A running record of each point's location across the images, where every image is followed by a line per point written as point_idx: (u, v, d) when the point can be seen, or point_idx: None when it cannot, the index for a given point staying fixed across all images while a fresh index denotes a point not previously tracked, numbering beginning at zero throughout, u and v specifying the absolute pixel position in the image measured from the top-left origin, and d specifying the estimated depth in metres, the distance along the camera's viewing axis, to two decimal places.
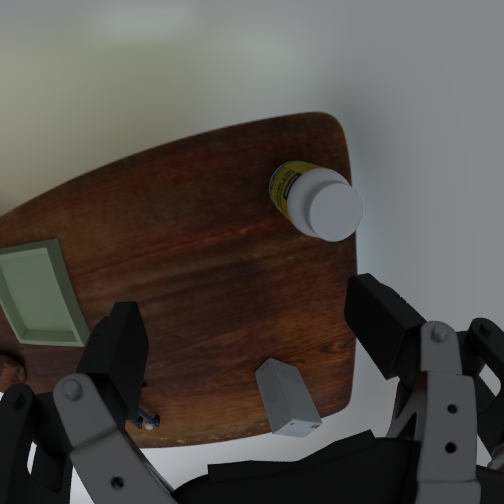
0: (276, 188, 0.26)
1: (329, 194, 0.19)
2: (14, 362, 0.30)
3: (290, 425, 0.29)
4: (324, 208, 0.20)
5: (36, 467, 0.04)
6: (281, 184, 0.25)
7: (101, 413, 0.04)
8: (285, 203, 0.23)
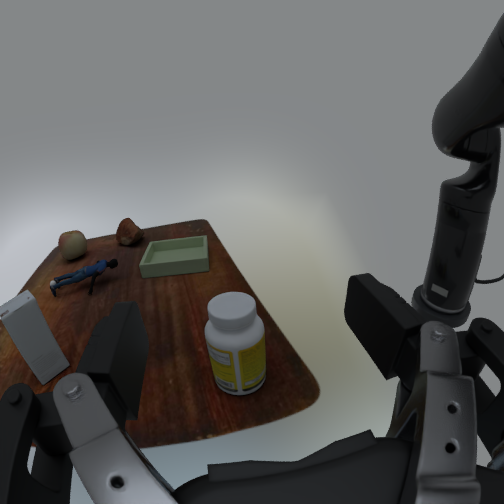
0: None
1: (245, 298, 0.27)
2: (136, 238, 0.71)
3: (28, 297, 0.25)
4: (234, 297, 0.27)
5: (36, 467, 0.04)
6: None
7: (101, 413, 0.04)
8: None
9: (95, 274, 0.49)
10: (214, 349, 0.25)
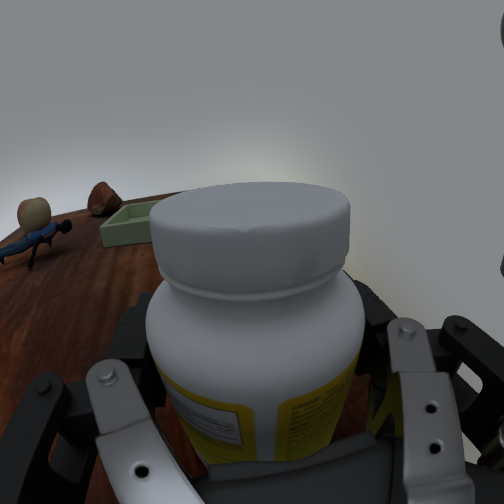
0: None
1: (298, 187, 0.07)
2: (110, 205, 0.51)
3: None
4: (258, 188, 0.07)
5: (56, 456, 0.04)
6: None
7: (140, 396, 0.05)
8: None
9: (38, 239, 0.29)
10: (174, 387, 0.06)
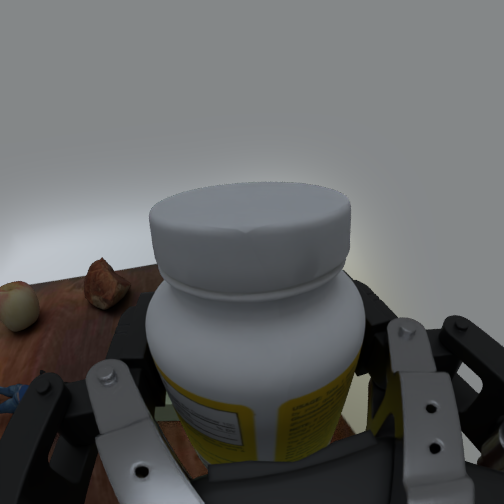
0: None
1: (299, 187, 0.07)
2: (115, 301, 0.38)
3: None
4: (258, 188, 0.07)
5: (56, 456, 0.04)
6: None
7: (140, 396, 0.05)
8: None
9: None
10: (174, 387, 0.06)
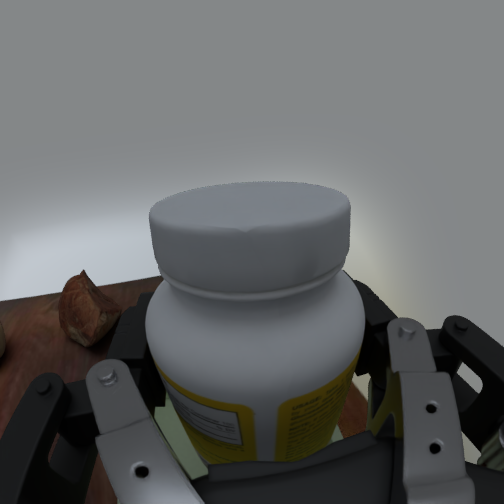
0: None
1: (298, 187, 0.07)
2: (99, 337, 0.24)
3: None
4: (258, 187, 0.07)
5: (56, 456, 0.04)
6: None
7: (141, 396, 0.05)
8: None
9: None
10: (173, 387, 0.06)
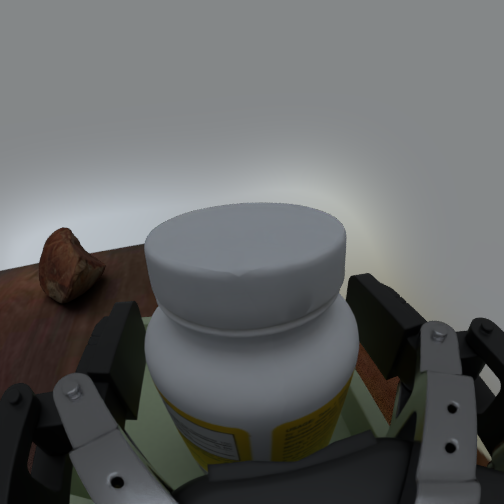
0: None
1: (295, 211, 0.07)
2: (77, 289, 0.22)
3: None
4: (254, 211, 0.07)
5: (36, 467, 0.04)
6: None
7: (101, 413, 0.04)
8: None
9: None
10: (173, 409, 0.06)
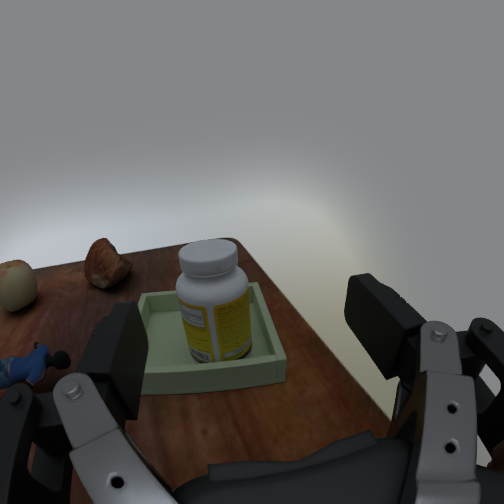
0: None
1: (225, 243, 0.22)
2: (117, 278, 0.37)
3: None
4: (212, 243, 0.23)
5: (36, 467, 0.04)
6: None
7: (101, 413, 0.04)
8: None
9: None
10: (185, 305, 0.21)
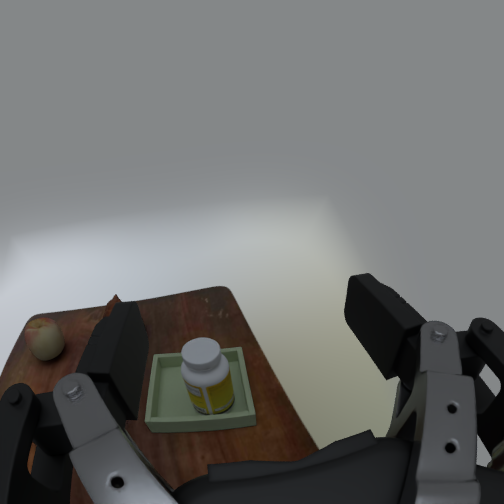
0: None
1: (212, 344, 0.31)
2: None
3: None
4: (203, 343, 0.31)
5: (36, 467, 0.04)
6: None
7: (101, 413, 0.04)
8: None
9: None
10: (187, 384, 0.29)
